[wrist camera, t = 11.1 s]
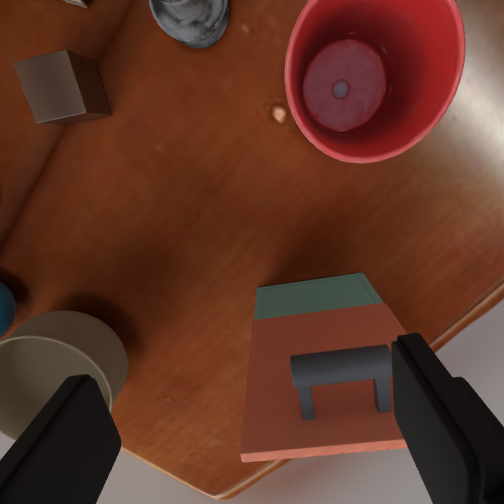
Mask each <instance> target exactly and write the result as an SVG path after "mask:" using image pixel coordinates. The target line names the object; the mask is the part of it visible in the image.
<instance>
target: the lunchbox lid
mask: <svg viewBox="0 0 504 504" xmlns="http://www.w3.org/2000/svg"><path fill="white" fill-rule="evenodd" d="M405 334H407V332H406V331H405V330H404V328H403V327H402V325H401V324H400V323H399V321H398V320H397V318H396V317H395V316H394V314H393V313H392V311H391V310H390V309H389V307H388V306H387V304H386V303H385V302H384V303H377V304H370V305H362V306H355V307H348V308H340V309H333V310H325V311H318V312H311V313H303V314H296V315H288V316H281V317H274V318H266V319H259V320H253V329H252V339H251V349H250V359H249V369H248V379H247V389H246V400H245V410H244V420H243V430H242V440H241V450H240V455H241V459H242V462H253V461H264V460H276V459H287V458H298V457H309V456H321V455H333V454H344V453H356V452H366V451H378V450H389V449H401V448H408V447H407V444H406V442H405V440H404V438H403V435H402V433H401V431H400V429H399V426H398V424H397V422H396V419H395V414H394V403H393V378H392V354H391V342H392V341H397V336H398V335H405Z"/></svg>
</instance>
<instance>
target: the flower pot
mask: <svg viewBox="0 0 504 504" xmlns="http://www.w3.org/2000/svg"><path fill="white" fill-rule="evenodd" d="M464 61H465V31H464V24H463V20H462V16H461V13H460V10H459V7H458V5H457V2H456V0H308V1H307V3H306V5H305V6H304V8H303V9H302V11H301V13H300V15H299V17H298V19H297V21H296V23H295V25H294V28H293V30H292V33H291V37H290V40H289V43H288V48H287V53H286V60H285V88H286V94H287V100H288V103H289V107H290V110H291V112H292V115H293V118H294V119H295V121H296V123H297V125H298V127H299V128H300V130H301V131H302V133H303V134H304V135H305V137H306V138H307V139H308V140H309V141H310V142H311V143H312V144H313V145H314V146H316V147H317V148H318V149H319V150H321V151H322V152H324V153H325V154H327V155H329V156H331V157H333V158H335V159H337V160H340V161H344V162H350V163H372V162H378V161H382V160H385V159H388V158H391V157H394V156H396V155H398V154H400V153H402V152H404V151H406V150H408V149H409V148H411V147H412V146H414V145H415V144H416V143H418V142H419V141H420V140H421V139H422V138H424V137H425V136H426V135H427V134H428V133H429V132H430V131H431V130H432V129H433V128H434V127H435V125H436V124H437V123H438V122H439V121H440V119H441V118H442V116H443V115H444V114H445V112H446V110H447V109H448V107H449V105H450V104H451V102H452V100H453V98H454V96H455V94H456V91H457V89H458V86H459V83H460V80H461V76H462V73H463V67H464Z"/></svg>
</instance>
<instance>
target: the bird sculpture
mask: <svg viewBox="0 0 504 504" xmlns="http://www.w3.org/2000/svg"><path fill="white" fill-rule="evenodd" d="M64 1H66V2H68V3H71V4H75V5H79V6H82V7H84V8H87V7H86V5H85V3H84V2H83V0H64Z"/></svg>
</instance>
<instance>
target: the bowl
mask: <svg viewBox="0 0 504 504" xmlns="http://www.w3.org/2000/svg"><path fill="white" fill-rule="evenodd" d="M127 372H128V359H127V354H126V351H125V348H124V346H123V344H122V342H121V340H120V339H119V337H118V336H117V334H116V333H115V332H114V331H113V330H112V329H111V328H110V327H109V326H108V325H107V324H106V323H104V322H103V321H101V320H99V319H98V318H95V317H93V316H91V315H88V314H85V313H81V312H76V311H66V310H61V311H51V312H47V313H43V314H40V315H38V316H35V317H33V318H31V319H30V320H28V321H27V322H25V323H24V324H23V325H21V326H20V327H19V328H18V329H17V330H16V331H14V332H13V333H12V334H11V335H10V336H9V337H7V338H6V339H4V340H2V341H0V432H1V433H3V434H5V435H6V436H8V437H10V438H12V439H14V440H17V439H18V438H19V437H20V435H21V434H22V433H23V432H24V430H25V429H26V428H27V427H28V425H29V424H30V423H31V422H32V420H33V419H34V418H35V417H36V415H37V414H38V413H39V412H40V410H41V409H42V408H43V407H44V405H45V404H46V403H47V402H48V400H49V399H50V398H51V397H52V395H53V394H54V393H55V392H56V391H57V389H58V388H59V387H60V386H61V384H62V383H63V382H64V381H65V379H66V378H67V377H69V376H73V375H82V374H89V375H90V376H91V377H92V378H94V379H96V381H97V383H98V386H99V388H100V390H101V393H102V395H103V398H104V400H105V402H106V405H107V407H108V409H109V412H110V414H111V412H112V407H113V404H114V402H115V400H116V398H117V396H118V394H119V393H120V391H121V389H122V387H123V385H124V383H125V380H126V377H127Z"/></svg>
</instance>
